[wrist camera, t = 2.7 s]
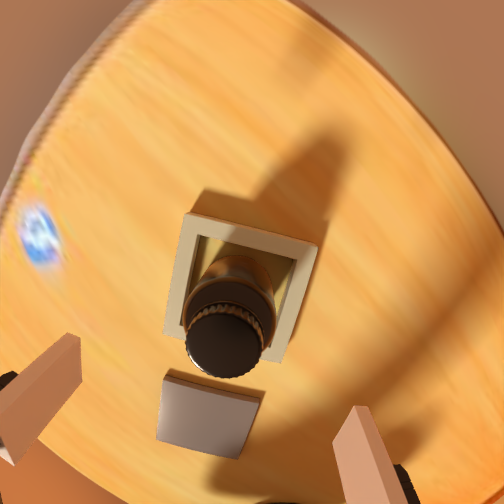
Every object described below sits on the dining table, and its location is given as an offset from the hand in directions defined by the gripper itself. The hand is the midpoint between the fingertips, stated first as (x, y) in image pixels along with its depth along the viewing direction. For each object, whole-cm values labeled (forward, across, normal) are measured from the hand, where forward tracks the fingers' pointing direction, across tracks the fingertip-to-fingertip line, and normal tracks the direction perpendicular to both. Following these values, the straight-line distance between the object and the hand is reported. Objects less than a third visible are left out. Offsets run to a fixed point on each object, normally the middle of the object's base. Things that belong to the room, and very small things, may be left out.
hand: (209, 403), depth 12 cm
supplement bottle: (+18, 0, 0) cm, 18 cm away
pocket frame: (+17, 0, 0) cm, 17 cm away
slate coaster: (+17, 0, +18) cm, 25 cm away
